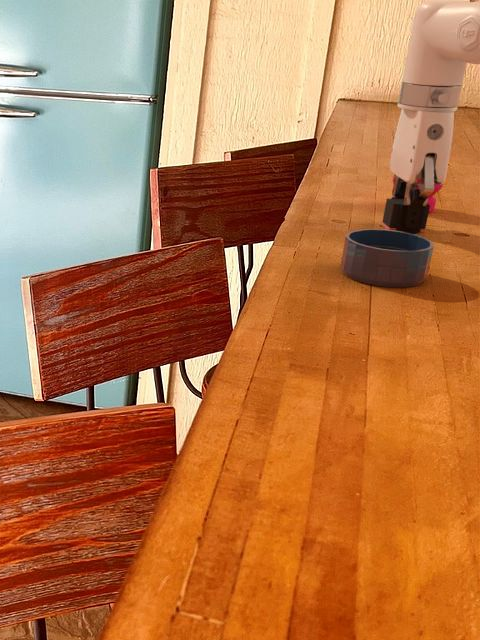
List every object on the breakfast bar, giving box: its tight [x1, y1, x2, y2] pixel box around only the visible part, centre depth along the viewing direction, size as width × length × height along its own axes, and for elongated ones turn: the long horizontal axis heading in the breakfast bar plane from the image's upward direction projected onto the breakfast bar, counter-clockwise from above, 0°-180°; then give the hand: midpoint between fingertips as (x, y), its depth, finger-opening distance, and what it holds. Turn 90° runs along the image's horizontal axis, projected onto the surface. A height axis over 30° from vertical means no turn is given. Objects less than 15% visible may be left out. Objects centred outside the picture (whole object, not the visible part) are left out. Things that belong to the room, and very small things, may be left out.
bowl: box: [340, 228, 435, 288], centre depth 107 cm, size 10×10×4 cm
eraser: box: [381, 198, 430, 234], centre depth 127 cm, size 5×3×4 cm
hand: (403, 227), depth 128 cm, fingers closed on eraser, 3 cm apart
